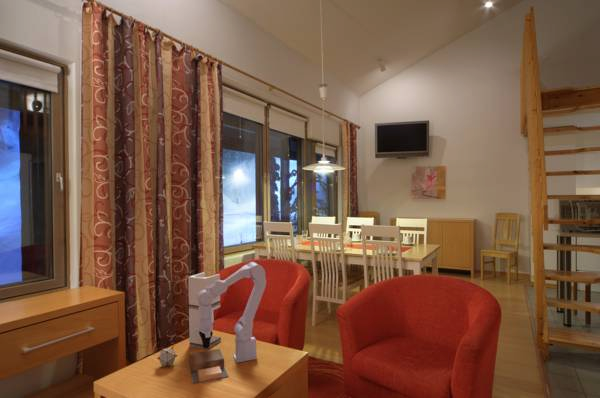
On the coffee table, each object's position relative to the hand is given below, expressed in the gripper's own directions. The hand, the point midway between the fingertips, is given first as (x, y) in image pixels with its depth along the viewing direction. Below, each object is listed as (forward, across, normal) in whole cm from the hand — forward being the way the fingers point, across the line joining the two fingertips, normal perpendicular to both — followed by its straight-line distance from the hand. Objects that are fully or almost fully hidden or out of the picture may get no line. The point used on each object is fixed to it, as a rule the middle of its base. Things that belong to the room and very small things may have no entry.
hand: (206, 347), depth 164 cm
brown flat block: (+8, 0, 0) cm, 8 cm away
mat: (+8, +10, 0) cm, 13 cm away
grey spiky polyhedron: (+8, -6, -16) cm, 19 cm away
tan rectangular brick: (+6, +11, 0) cm, 12 cm away
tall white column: (+8, -24, +3) cm, 26 cm away
